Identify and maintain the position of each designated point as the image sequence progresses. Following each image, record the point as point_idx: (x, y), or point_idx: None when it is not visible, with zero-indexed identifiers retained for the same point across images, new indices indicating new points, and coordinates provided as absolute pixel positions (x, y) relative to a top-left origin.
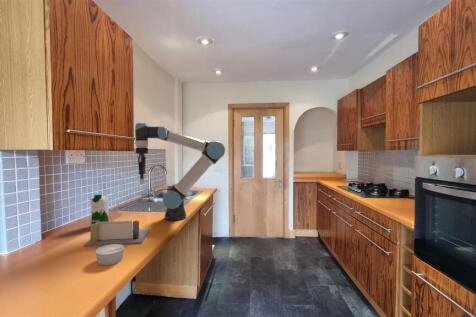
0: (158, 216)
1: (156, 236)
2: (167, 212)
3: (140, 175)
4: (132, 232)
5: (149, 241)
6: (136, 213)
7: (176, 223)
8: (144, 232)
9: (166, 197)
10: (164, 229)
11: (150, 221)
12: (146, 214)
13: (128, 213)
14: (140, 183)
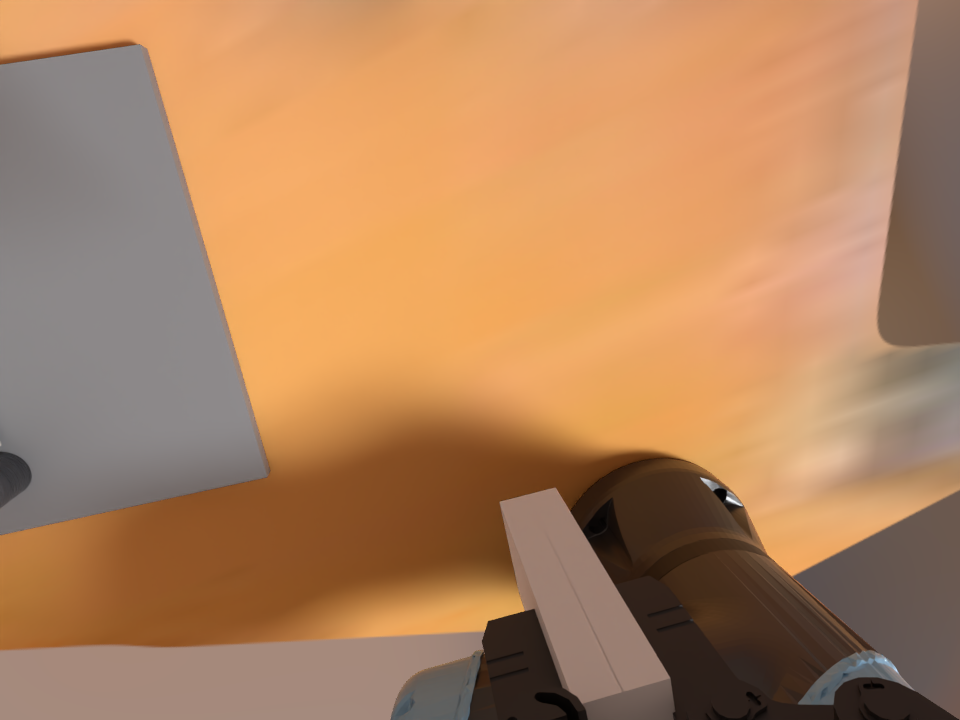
0: (702, 384)
1: (131, 579)
2: (618, 533)
3: (561, 683)
4: (145, 380)
5: (9, 575)
6: (836, 109)
7: (479, 606)
8: (161, 478)
9: None
10: (311, 574)
11: (535, 375)
12: (785, 237)
13: (846, 12)
14: (506, 521)
